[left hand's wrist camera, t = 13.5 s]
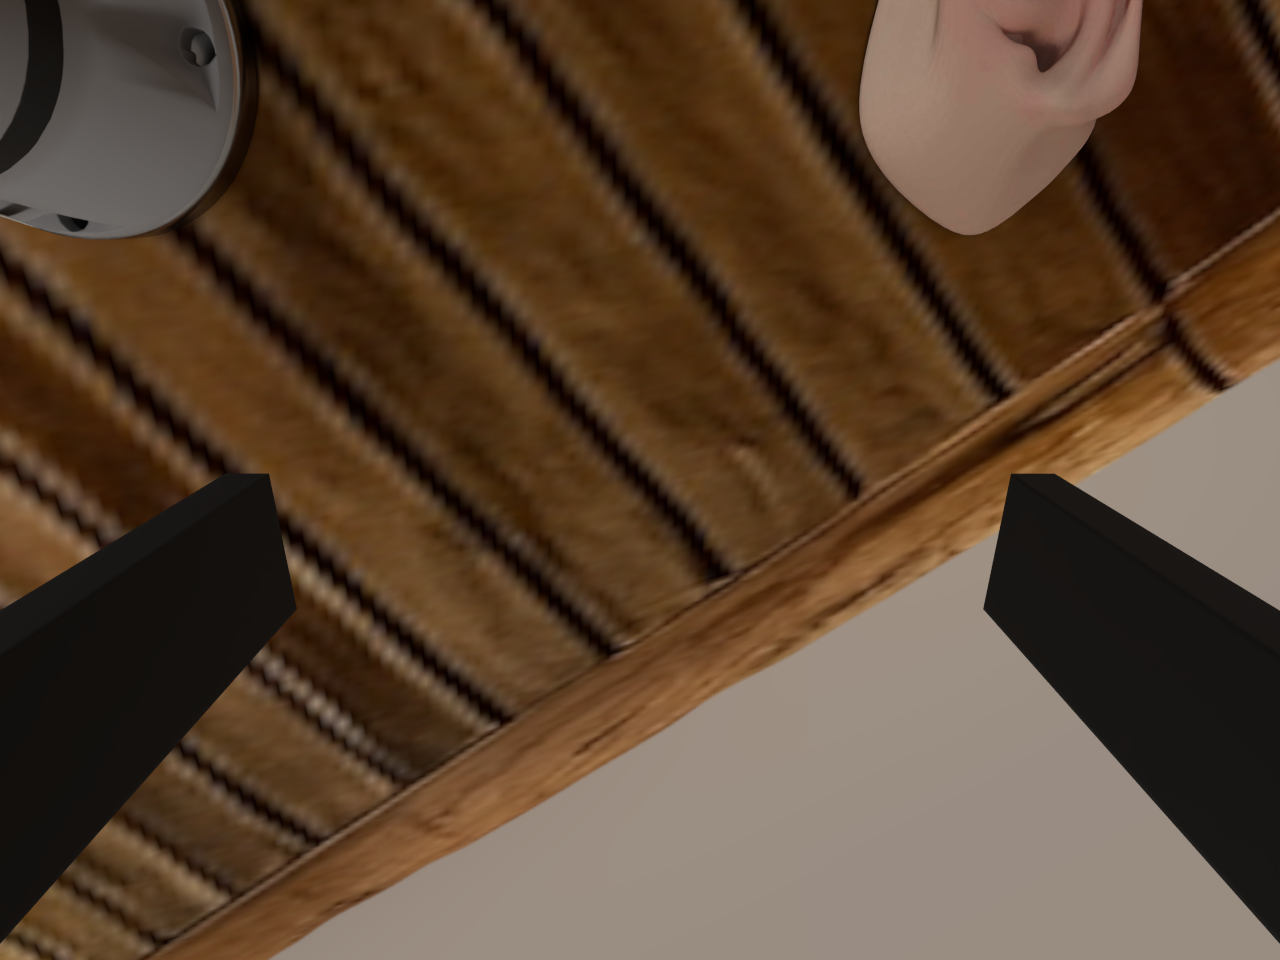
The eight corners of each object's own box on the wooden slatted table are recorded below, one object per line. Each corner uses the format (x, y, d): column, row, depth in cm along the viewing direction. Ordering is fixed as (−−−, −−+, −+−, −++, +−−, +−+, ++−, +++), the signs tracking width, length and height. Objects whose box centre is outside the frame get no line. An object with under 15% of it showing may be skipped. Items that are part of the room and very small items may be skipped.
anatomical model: (1068, 265, 29) (824, 160, 28) (1019, 260, 33) (802, 168, 31) (1273, -96, 25) (996, -242, 23) (1190, -54, 28) (946, -178, 27)
